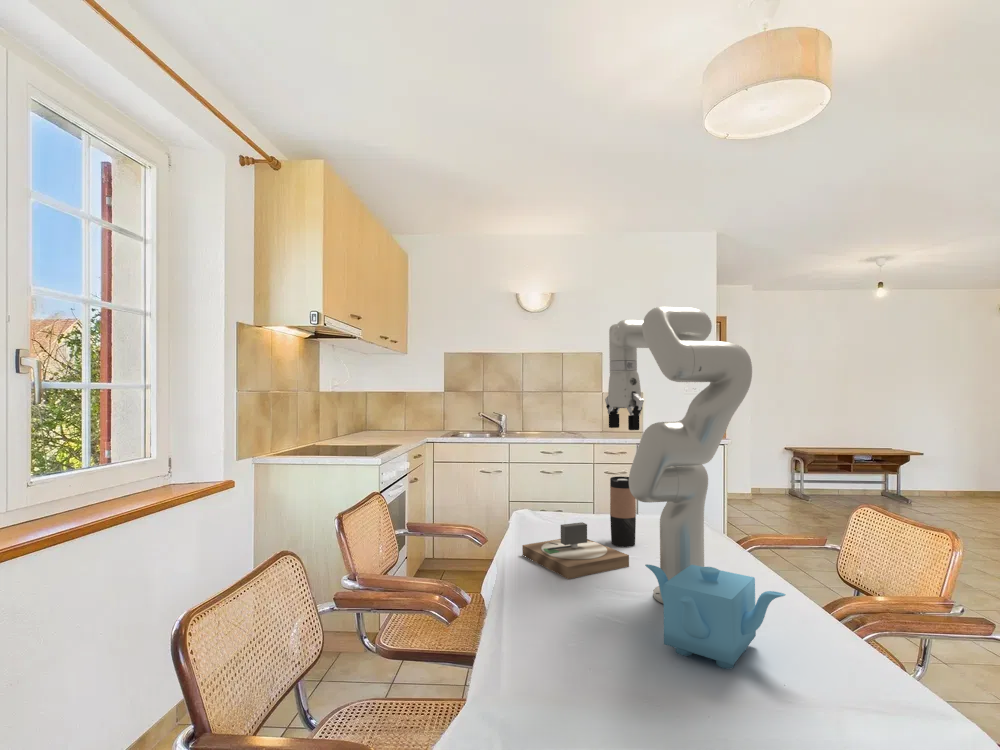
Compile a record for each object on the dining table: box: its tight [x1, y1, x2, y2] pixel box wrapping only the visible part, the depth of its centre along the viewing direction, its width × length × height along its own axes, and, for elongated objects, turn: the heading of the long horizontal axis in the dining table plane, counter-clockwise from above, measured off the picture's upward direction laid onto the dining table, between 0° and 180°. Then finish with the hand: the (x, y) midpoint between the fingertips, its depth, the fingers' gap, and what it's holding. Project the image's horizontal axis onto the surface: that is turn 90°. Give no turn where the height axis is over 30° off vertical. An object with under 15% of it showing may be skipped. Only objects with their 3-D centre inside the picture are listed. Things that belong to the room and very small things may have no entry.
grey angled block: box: [548, 521, 588, 550], centre depth 149 cm, size 12×2×6 cm, turn 112°
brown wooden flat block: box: [522, 538, 630, 580], centre depth 150 cm, size 22×20×4 cm
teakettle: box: [645, 564, 786, 670], centre depth 99 cm, size 19×19×15 cm
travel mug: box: [609, 475, 637, 548], centre depth 167 cm, size 8×8×20 cm
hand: (623, 428), depth 152 cm, fingers open, 9 cm apart
